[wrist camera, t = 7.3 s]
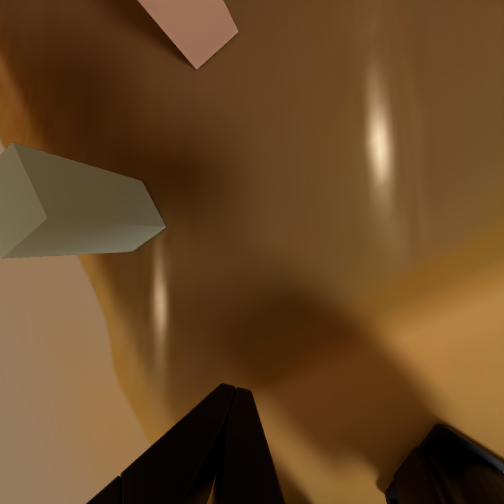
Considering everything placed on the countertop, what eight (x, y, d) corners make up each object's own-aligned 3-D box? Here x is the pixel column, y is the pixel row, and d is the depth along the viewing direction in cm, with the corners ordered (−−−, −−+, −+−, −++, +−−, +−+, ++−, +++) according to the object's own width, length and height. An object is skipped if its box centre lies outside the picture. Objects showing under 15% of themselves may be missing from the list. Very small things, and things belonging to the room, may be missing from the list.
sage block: (166, 227, 22) (47, 218, 13) (132, 251, 23) (1, 258, 14) (142, 181, 23) (12, 142, 14) (110, 207, 24) (-30, 187, 15)
